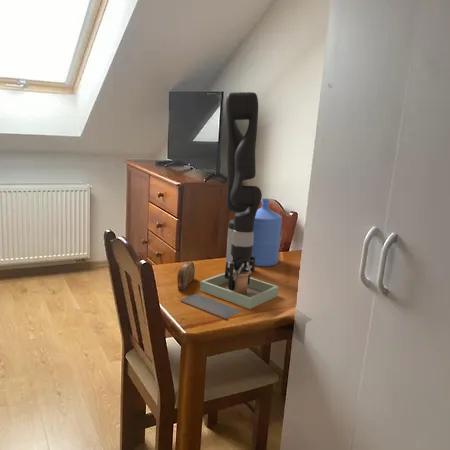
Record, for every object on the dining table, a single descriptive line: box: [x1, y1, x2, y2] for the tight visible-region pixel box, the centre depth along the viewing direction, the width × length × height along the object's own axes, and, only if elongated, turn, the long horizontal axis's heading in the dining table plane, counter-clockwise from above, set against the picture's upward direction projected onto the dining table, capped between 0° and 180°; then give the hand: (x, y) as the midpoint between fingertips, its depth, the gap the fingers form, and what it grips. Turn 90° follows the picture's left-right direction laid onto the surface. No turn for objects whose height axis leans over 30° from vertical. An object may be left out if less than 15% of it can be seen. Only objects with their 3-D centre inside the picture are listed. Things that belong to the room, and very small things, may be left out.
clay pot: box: [231, 270, 249, 295], centre depth 170 cm, size 6×6×8 cm
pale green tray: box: [199, 272, 280, 310], centre depth 171 cm, size 17×22×4 cm
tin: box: [176, 261, 196, 291], centre depth 176 cm, size 15×3×8 cm, turn 168°
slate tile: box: [180, 293, 243, 322], centre depth 159 cm, size 8×20×1 cm, turn 51°
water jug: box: [252, 198, 283, 267], centre depth 209 cm, size 16×16×28 cm
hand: (238, 286), depth 170 cm, fingers open, 8 cm apart
